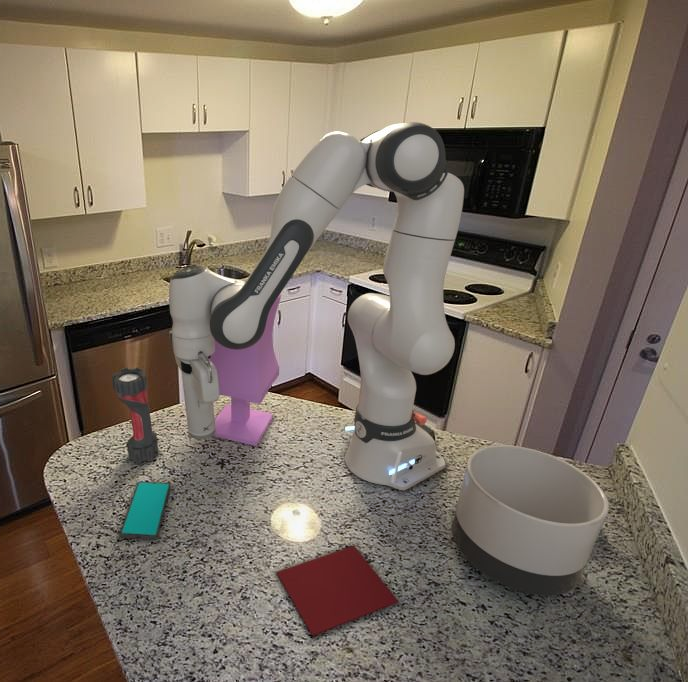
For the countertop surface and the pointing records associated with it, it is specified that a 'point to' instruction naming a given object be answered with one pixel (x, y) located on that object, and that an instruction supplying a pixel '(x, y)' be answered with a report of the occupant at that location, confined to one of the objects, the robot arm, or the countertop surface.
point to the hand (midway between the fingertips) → (197, 400)
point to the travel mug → (196, 409)
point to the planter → (528, 518)
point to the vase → (246, 385)
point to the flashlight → (137, 413)
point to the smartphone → (146, 511)
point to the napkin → (335, 589)
